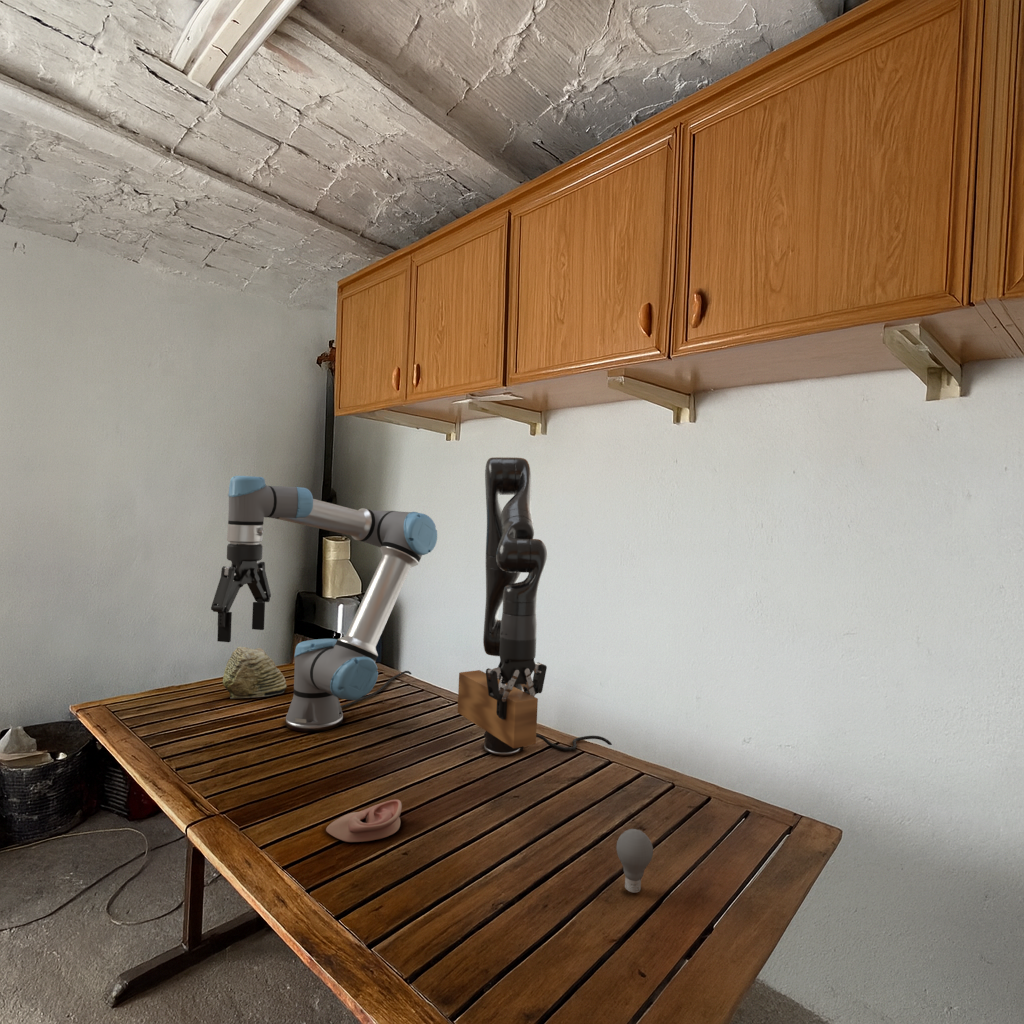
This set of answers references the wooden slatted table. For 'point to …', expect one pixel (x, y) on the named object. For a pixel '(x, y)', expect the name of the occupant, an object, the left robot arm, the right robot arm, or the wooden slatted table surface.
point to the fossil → (252, 674)
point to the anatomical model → (368, 823)
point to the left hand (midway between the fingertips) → (241, 635)
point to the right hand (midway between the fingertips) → (514, 715)
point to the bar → (483, 709)
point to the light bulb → (634, 857)
